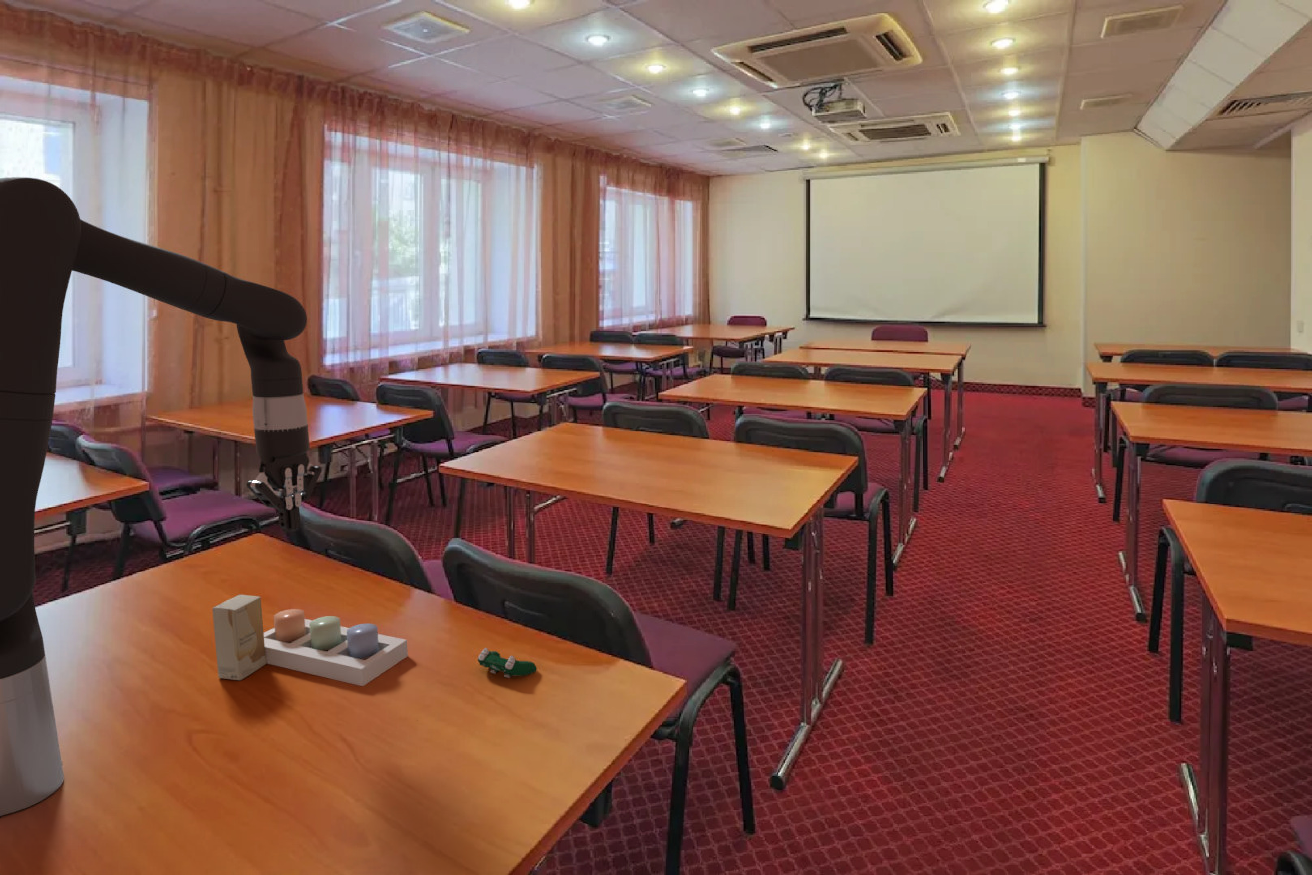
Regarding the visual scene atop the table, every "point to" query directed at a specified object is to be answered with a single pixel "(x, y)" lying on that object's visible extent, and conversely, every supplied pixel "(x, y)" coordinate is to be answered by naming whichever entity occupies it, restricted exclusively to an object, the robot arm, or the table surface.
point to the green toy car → (505, 664)
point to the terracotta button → (289, 625)
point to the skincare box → (239, 637)
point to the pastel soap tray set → (334, 657)
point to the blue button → (362, 641)
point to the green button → (325, 633)
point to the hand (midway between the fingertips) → (290, 530)
